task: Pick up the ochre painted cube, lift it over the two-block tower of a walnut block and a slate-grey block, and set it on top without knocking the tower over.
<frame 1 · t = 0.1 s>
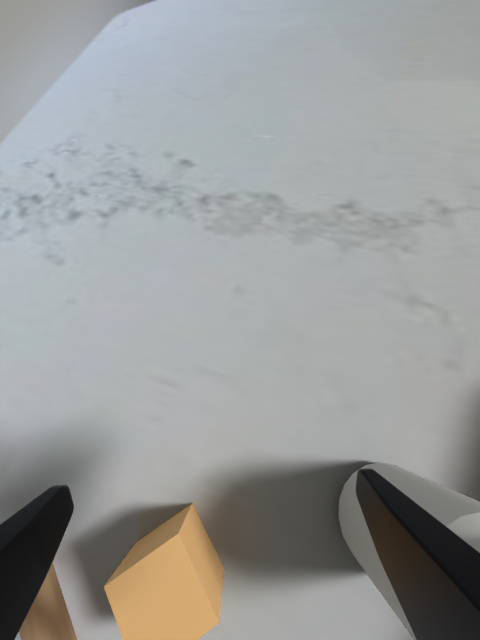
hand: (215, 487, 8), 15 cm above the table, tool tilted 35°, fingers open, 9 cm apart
ochre cube: (179, 554, 20), on the table
walnut base block: (11, 619, 19), on the table, touching slate block
can: (380, 511, 21), on the table
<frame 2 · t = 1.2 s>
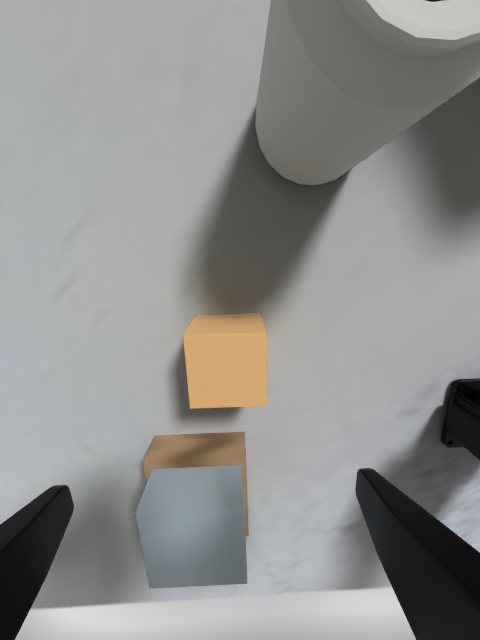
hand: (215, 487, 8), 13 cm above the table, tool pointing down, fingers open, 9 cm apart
ochre cube: (229, 343, 21), on the table
walnut base block: (203, 466, 24), on the table, touching slate block
can: (310, 127, 17), on the table
slate block: (200, 501, 21), point 3 cm above the table, touching walnut base block
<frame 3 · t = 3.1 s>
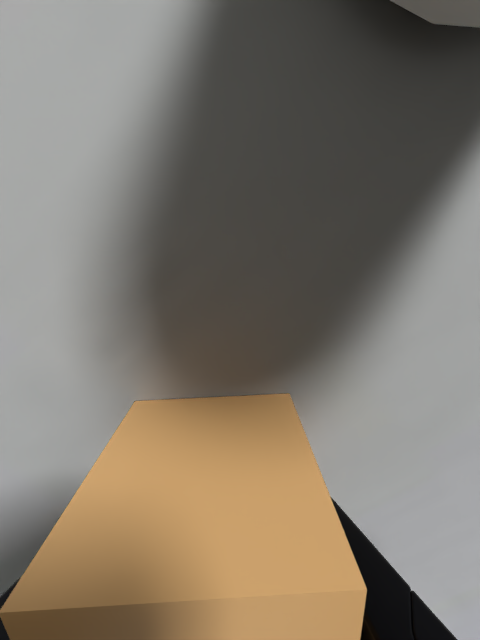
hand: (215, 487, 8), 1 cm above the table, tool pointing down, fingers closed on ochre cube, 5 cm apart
ochre cube: (217, 460, 9), on the table, touching gripper
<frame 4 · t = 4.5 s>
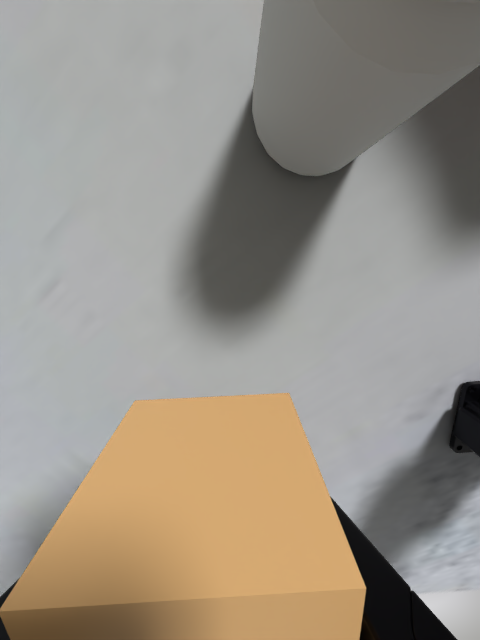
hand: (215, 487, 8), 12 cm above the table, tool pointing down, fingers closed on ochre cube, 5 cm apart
ochre cube: (217, 459, 9), point 11 cm above the table, touching gripper
can: (311, 113, 16), on the table
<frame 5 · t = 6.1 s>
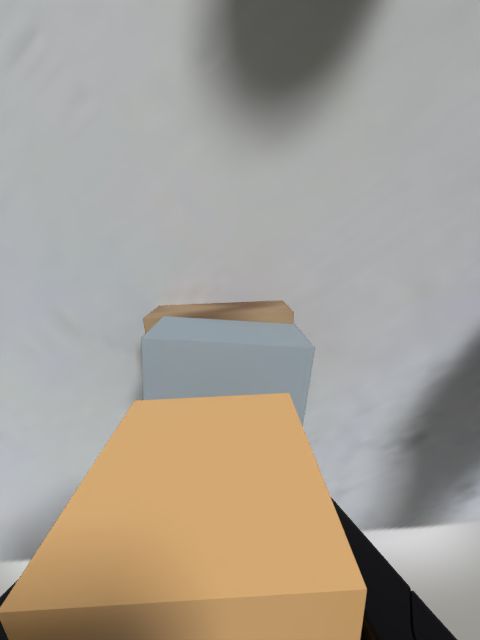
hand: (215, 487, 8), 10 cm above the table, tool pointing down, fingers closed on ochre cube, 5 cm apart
ochre cube: (217, 459, 9), point 9 cm above the table, touching gripper
walnut base block: (224, 357, 18), on the table
slate block: (226, 379, 15), point 3 cm above the table
when the fingers open (9 cm above the table, at t = 6.7 s): ochre cube drops 1 cm, point 7 cm above the table.
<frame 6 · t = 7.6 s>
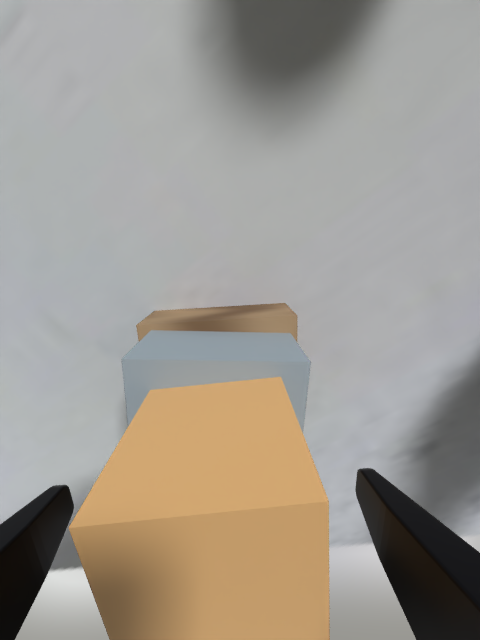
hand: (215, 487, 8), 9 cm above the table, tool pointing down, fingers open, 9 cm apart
ochre cube: (223, 438, 10), point 7 cm above the table
walnut base block: (224, 364, 17), on the table, touching slate block
slate block: (220, 393, 14), point 3 cm above the table, touching walnut base block
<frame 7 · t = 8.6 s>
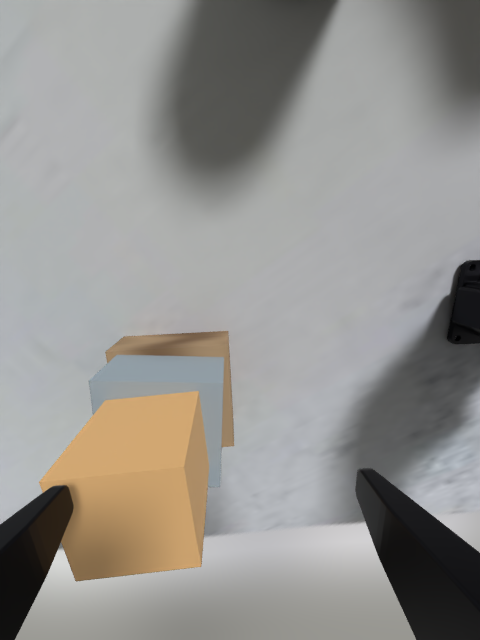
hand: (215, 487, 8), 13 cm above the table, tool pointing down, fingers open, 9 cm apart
ochre cube: (159, 434, 14), point 7 cm above the table, touching slate block
walnut base block: (182, 378, 21), on the table
slate block: (172, 402, 18), point 3 cm above the table, touching ochre cube
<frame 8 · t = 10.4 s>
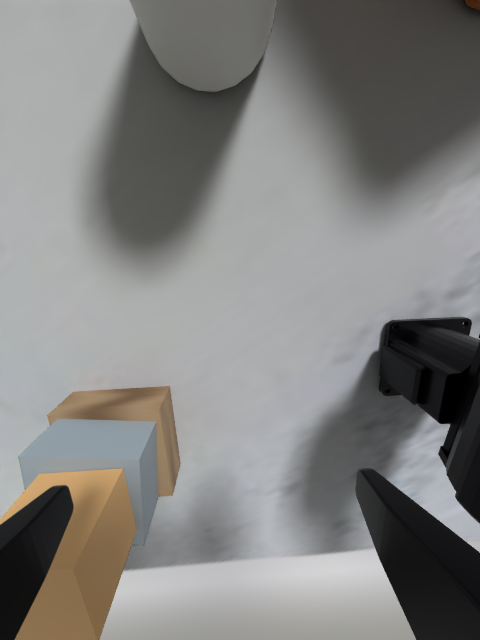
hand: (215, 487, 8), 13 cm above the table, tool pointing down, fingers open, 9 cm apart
ochre cube: (90, 502, 16), point 7 cm above the table, touching slate block
walnut base block: (131, 427, 23), on the table
can: (208, 28, 15), on the table
slate block: (110, 459, 19), point 3 cm above the table, touching ochre cube
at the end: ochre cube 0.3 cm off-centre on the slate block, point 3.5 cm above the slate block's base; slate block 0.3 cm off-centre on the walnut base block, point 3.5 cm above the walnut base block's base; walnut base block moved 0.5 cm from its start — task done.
